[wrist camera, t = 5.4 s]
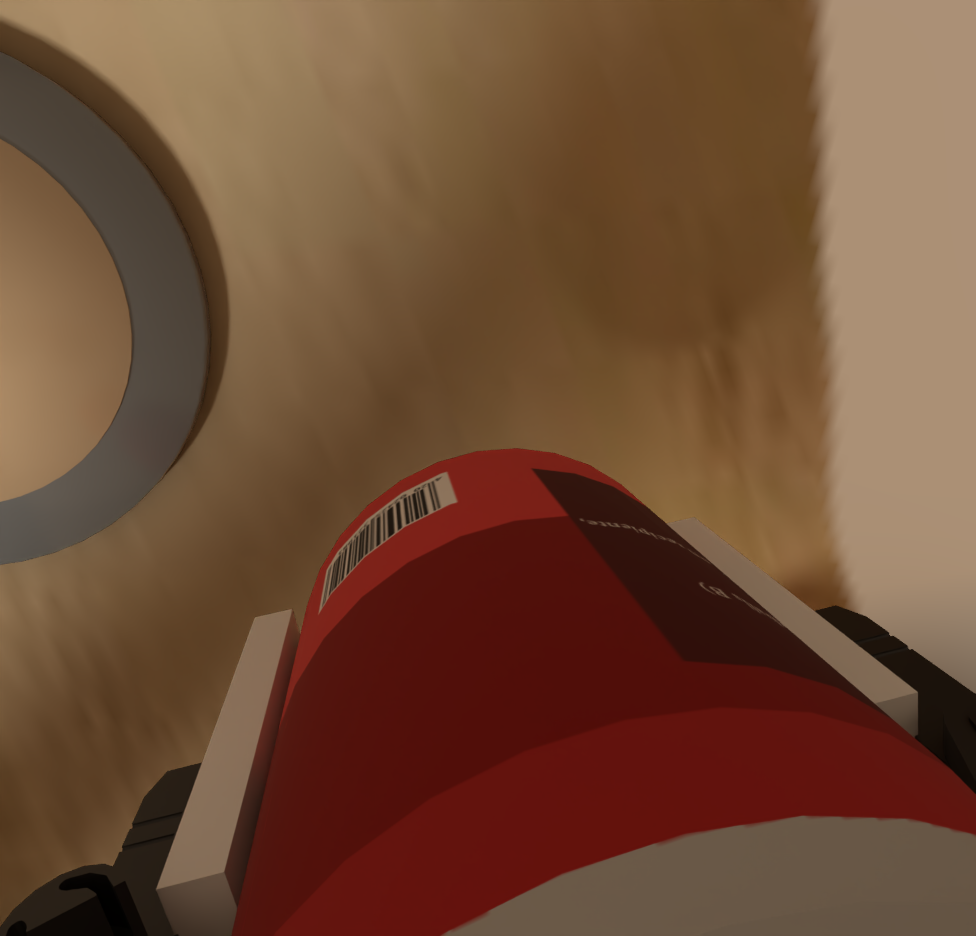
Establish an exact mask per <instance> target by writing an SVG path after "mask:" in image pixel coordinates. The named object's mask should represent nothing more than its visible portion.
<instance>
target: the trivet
mask: <svg viewBox="0 0 976 936" xmlns="http://www.w3.org/2000/svg"><path fill="white" fill-rule="evenodd" d="M210 347H211V331H210V320H209V308H208V301H207V296H206V292H205V287H204V283H203V278H202V274H201V270H200V267H199V264H198V261H197V259H196V256H195V253H194V250H193V247H192V245H191V242H190V239H189V236H188V234H187V232H186V230H185V228H184V226H183V224H182V222H181V220H180V218H179V216H178V214H177V212H176V210H175V208H174V206H173V204H172V202H171V201H170V199H169V198H168V196H167V195H166V193H165V192H164V190H163V189H162V187H161V186H160V184H159V183H158V181H157V180H156V178H155V177H154V175H153V174H152V172H151V171H150V169H149V168H148V167H147V166H146V165H145V163H144V162H143V161H142V160H141V159H140V157H139V156H138V155H137V154H136V153H135V151H134V150H133V149H132V148H131V147H130V145H129V144H128V143H127V142H126V141H125V140H124V139H123V138H122V137H121V136H120V135H119V134H118V133H117V132H116V131H115V130H114V129H113V128H112V127H111V126H110V125H109V124H108V123H107V122H106V121H105V120H104V119H102V118H101V117H100V116H99V115H98V114H97V113H96V112H95V111H94V110H92V109H91V108H90V107H89V106H87V105H86V104H85V103H83V102H82V101H81V100H79V99H78V98H77V97H75V96H74V95H73V94H72V93H70V92H69V91H68V90H66V89H65V88H64V87H62V86H61V85H59V84H57V83H56V82H54V81H52V80H51V79H49V78H47V77H46V76H44V75H42V74H41V73H39V72H37V71H36V70H34V69H32V68H31V67H29V66H27V65H26V64H24V63H22V62H20V61H18V60H16V59H14V58H13V57H11V56H9V55H6V54H4V53H2V52H0V565H1V564H8V563H15V562H21V561H26V560H29V559H33V558H37V557H40V556H44V555H48V554H51V553H55V552H57V551H60V550H62V549H64V548H67V547H69V546H72V545H74V544H76V543H79V542H81V541H84V540H85V539H87V538H89V537H91V536H92V535H94V534H96V533H97V532H99V531H101V530H103V529H104V528H106V527H108V526H110V525H111V524H112V523H114V522H115V521H116V520H117V519H119V518H120V517H121V516H123V515H124V514H125V513H126V512H128V511H129V510H130V509H132V508H133V507H134V506H135V505H136V504H137V503H138V502H139V501H140V500H142V499H143V498H144V497H145V496H146V494H147V493H148V492H149V491H150V490H151V489H152V488H153V487H154V486H155V485H156V484H157V483H158V482H159V481H160V480H161V479H162V478H163V477H164V475H165V474H166V473H167V471H168V470H169V468H170V467H171V466H172V464H173V463H174V461H175V460H176V459H177V457H178V456H179V455H180V453H181V451H182V449H183V447H184V445H185V443H186V441H187V440H188V438H189V436H190V434H191V432H192V430H193V428H194V425H195V423H196V420H197V417H198V414H199V411H200V408H201V405H202V402H203V399H204V395H205V389H206V384H207V379H208V373H209V368H210Z"/></svg>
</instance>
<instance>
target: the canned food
mask: <svg viewBox="0 0 976 936" xmlns="http://www.w3.org/2000/svg"><path fill="white" fill-rule="evenodd" d="M231 936H976V794H975V793H974V792H973V791H972V790H971V789H970V788H969V787H968V786H967V785H966V784H965V783H964V782H963V781H962V780H961V779H960V778H959V777H958V776H957V775H956V774H955V773H954V772H953V771H952V770H951V769H950V768H949V767H948V766H947V765H945V764H944V763H943V762H942V761H941V760H940V759H938V758H937V757H936V756H935V755H934V754H933V753H931V752H930V751H929V750H928V749H927V748H926V747H925V746H923V745H922V744H921V743H920V742H919V741H918V740H916V739H915V738H914V737H913V736H912V735H911V734H909V733H908V732H907V731H906V730H905V729H904V728H902V727H901V726H900V725H899V724H898V723H897V722H896V721H894V720H893V719H892V718H891V717H890V716H889V715H887V714H886V713H885V712H884V711H883V710H882V709H880V708H879V707H878V706H877V705H876V704H875V703H874V702H872V701H871V700H870V699H869V698H868V697H867V696H865V695H864V694H863V693H862V692H861V691H860V690H858V689H857V688H856V687H855V686H854V685H853V684H852V683H850V682H849V681H848V680H847V679H846V678H845V677H843V676H842V675H841V674H840V673H839V672H838V671H836V670H835V669H834V668H833V667H832V666H831V665H829V664H828V663H827V662H826V661H825V660H824V659H823V658H821V657H820V656H819V655H818V654H817V653H816V652H814V651H813V650H812V649H811V648H810V647H809V646H807V645H806V644H805V643H804V642H803V641H802V640H801V639H799V638H798V637H797V636H796V635H795V634H794V633H792V632H791V631H790V630H789V629H788V628H787V627H785V626H784V625H783V624H782V623H781V622H780V621H779V620H777V619H776V618H775V617H774V616H773V615H772V614H770V613H769V612H768V611H767V610H766V609H765V608H763V607H762V606H761V605H760V604H759V603H758V602H757V601H755V600H754V599H753V598H752V597H751V596H750V595H748V594H747V593H746V592H745V591H744V590H743V589H741V588H740V587H739V586H738V585H737V584H736V583H734V582H733V581H732V580H731V579H730V578H729V577H728V576H726V575H725V574H724V573H723V572H722V571H721V570H719V569H718V568H717V567H716V566H715V565H714V564H712V563H711V562H710V561H709V560H708V559H707V558H706V557H704V556H703V555H702V554H701V553H700V552H699V551H697V550H696V549H695V548H694V547H693V546H692V545H690V544H689V543H688V542H687V541H686V540H685V539H684V538H682V537H681V536H680V535H679V534H678V533H677V532H675V531H674V530H673V529H672V528H671V527H670V526H668V525H667V524H666V523H665V522H664V521H663V520H661V519H660V518H659V517H658V516H657V515H656V514H655V513H653V512H652V511H651V510H650V509H649V508H648V507H646V506H645V505H644V504H643V503H642V502H641V501H639V500H638V499H637V498H636V497H635V496H634V495H633V494H631V493H630V492H629V491H628V490H627V489H626V488H624V487H623V486H622V485H621V484H620V483H618V482H616V481H615V480H613V479H611V478H610V477H608V476H607V475H605V474H603V473H602V472H600V471H598V470H597V469H595V468H594V467H592V466H590V465H588V464H585V463H582V462H579V461H576V460H573V459H571V458H568V457H565V456H562V455H559V454H556V453H550V452H542V451H534V450H526V449H518V448H514V449H501V450H488V451H476V452H473V453H469V454H466V455H462V456H458V457H455V458H451V459H448V460H444V461H440V462H437V463H435V464H433V465H431V466H429V467H427V468H425V469H423V470H421V471H419V472H417V473H415V474H413V475H411V476H409V477H407V478H405V479H403V480H401V481H399V482H398V483H397V484H395V485H394V486H393V487H392V488H390V489H389V490H388V491H386V492H385V493H384V494H382V495H381V496H380V497H378V498H377V499H376V500H374V501H373V502H372V503H370V504H369V505H368V506H367V507H366V508H365V509H364V510H363V511H362V512H361V513H360V515H359V516H358V517H357V518H356V519H355V520H354V521H353V522H352V523H351V525H350V526H349V527H348V528H347V529H346V530H345V531H344V532H343V533H342V534H341V536H340V537H339V539H338V540H337V542H336V544H335V545H334V547H333V549H332V550H331V552H330V554H329V555H328V557H327V559H326V560H325V562H324V564H323V565H322V567H321V569H320V571H319V574H318V576H317V579H316V582H315V585H314V588H313V590H312V593H311V596H310V599H309V602H308V605H307V608H306V613H305V617H304V621H303V626H302V630H301V634H300V639H299V643H298V647H297V652H296V656H295V660H294V665H293V669H292V673H291V678H290V682H289V687H288V691H287V695H286V700H285V704H284V708H283V713H282V717H281V721H280V726H279V730H278V734H277V739H276V743H275V747H274V752H273V756H272V761H271V765H270V769H269V774H268V778H267V782H266V787H265V791H264V795H263V800H262V804H261V808H260V813H259V817H258V821H257V826H256V830H255V834H254V839H253V843H252V848H251V852H250V856H249V861H248V865H247V869H246V874H245V878H244V882H243V887H242V891H241V895H240V900H239V904H238V908H237V913H236V917H235V921H234V926H233V930H232V935H231Z"/></svg>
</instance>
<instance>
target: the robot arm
mask: <svg viewBox="0 0 976 936" xmlns="http://www.w3.org/2000/svg"><path fill="white" fill-rule="evenodd" d="M667 525H668V526H670V527H671V528H672V529H673V530H674V531H675V532H677V533H678V534H679V535H680V536H681V537H682V538H684V539H685V540H686V541H687V542H688V543H689V544H690V545H692V546H693V547H694V548H695V549H696V550H697V551H699V552H700V553H701V554H702V555H703V556H704V557H706V558H707V559H708V560H709V561H710V562H711V563H712V564H714V565H715V566H716V567H717V568H718V569H719V570H721V571H722V572H723V573H724V574H725V575H726V576H728V577H729V578H730V579H731V580H732V581H733V582H734V583H736V584H737V585H738V586H739V587H740V588H741V589H743V590H744V591H745V592H746V593H747V594H748V595H750V596H751V597H752V598H753V599H754V600H755V601H757V602H758V603H759V604H760V605H761V606H762V607H763V608H765V609H766V610H767V611H768V612H769V613H770V614H772V615H773V616H774V617H775V618H776V619H777V620H779V621H780V622H781V623H782V624H783V625H784V626H785V627H787V628H788V629H789V630H790V631H791V632H792V633H794V634H795V635H796V636H797V637H798V638H799V639H801V640H802V641H803V642H804V643H805V644H806V645H807V646H809V647H810V648H811V649H812V650H813V651H814V652H816V653H817V654H818V655H819V656H820V657H821V658H823V659H824V660H825V661H826V662H827V663H828V664H829V665H831V666H832V667H833V668H834V669H835V670H836V671H838V672H839V673H840V674H841V675H842V676H843V677H845V678H846V679H847V680H848V681H849V682H850V683H852V684H853V685H854V686H855V687H856V688H857V689H858V690H860V691H861V692H862V693H863V694H864V695H865V696H867V697H868V698H869V699H870V700H871V701H872V702H874V703H875V704H876V705H877V706H878V707H879V708H880V709H882V710H883V711H884V712H885V713H886V714H887V715H889V716H890V717H891V718H892V719H893V720H894V721H896V722H897V723H898V724H899V725H900V726H901V727H902V728H904V729H905V730H906V731H907V732H908V733H909V734H911V735H912V736H913V737H914V738H915V739H916V740H918V741H919V742H920V743H921V744H922V745H923V746H925V747H926V748H927V749H928V750H929V751H930V752H931V753H933V754H934V755H935V756H936V757H937V758H938V759H940V760H941V761H942V762H943V763H944V764H945V765H947V766H948V767H949V768H950V769H951V770H952V771H953V772H954V773H955V774H956V775H957V776H958V777H959V778H960V779H961V780H962V781H963V782H964V783H965V784H966V785H967V786H968V787H969V788H970V789H971V790H972V791H973V792H974V793H975V794H976V694H975V693H973V692H972V691H970V690H969V689H967V688H966V687H965V686H963V685H962V684H960V683H959V682H958V681H956V680H955V679H954V678H952V677H951V676H949V675H948V674H947V673H945V672H944V671H942V670H941V669H939V668H938V667H937V666H935V665H934V664H932V663H931V662H930V661H928V660H927V659H925V658H924V657H923V656H921V655H920V654H918V653H917V652H916V651H914V650H913V649H911V650H909V649H908V646H907V645H906V644H904V643H903V642H901V641H900V640H899V639H897V638H896V637H894V636H890V635H889V632H887V631H886V630H885V629H883V628H882V627H880V626H879V625H878V624H876V623H875V622H873V621H872V620H870V619H869V618H868V617H866V616H863V615H861V614H858V613H855V612H852V611H850V610H847V609H844V608H841V607H839V606H832V607H828V608H824V609H820V610H816V611H813V610H812V609H811V608H810V607H808V606H807V605H806V604H804V603H803V602H802V601H801V600H799V599H798V598H797V597H796V596H794V595H793V594H792V593H790V592H789V591H788V590H787V589H785V588H784V587H783V586H781V585H780V584H779V583H778V582H776V581H775V580H774V579H773V578H771V577H770V576H769V575H767V574H766V573H765V572H764V571H762V570H761V569H760V568H758V567H757V566H756V565H755V564H753V563H752V562H751V561H750V560H748V559H747V558H746V557H744V556H743V555H742V554H741V553H739V552H738V551H737V550H735V549H734V548H733V547H732V546H730V545H729V544H728V543H727V542H725V541H724V540H723V539H721V538H720V537H719V536H718V535H716V534H715V533H714V532H712V531H711V530H710V529H709V528H707V527H706V526H705V525H704V524H702V523H701V522H700V521H698V520H697V519H696V518H695V517H693V518H689V519H684V520H680V521H675V522H671V523H667ZM299 639H300V633H299V630H298V626H297V623H296V619H295V616H294V612H293V609H289V610H285V611H280V612H276V613H272V614H267V615H263V616H258V617H255V618H254V621H253V624H252V626H251V629H250V632H249V635H248V637H247V640H246V643H245V646H244V648H243V651H242V654H241V657H240V659H239V662H238V665H237V668H236V670H235V673H234V676H233V679H232V681H231V684H230V687H229V690H228V692H227V695H226V698H225V701H224V704H223V706H222V709H221V712H220V715H219V717H218V720H217V723H216V726H215V728H214V731H213V734H212V737H211V739H210V742H209V745H208V748H207V750H206V753H205V756H204V759H203V761H202V763H199V764H195V765H191V766H187V767H182V768H178V769H174V770H170V771H167V772H166V773H165V775H164V776H163V777H162V778H161V779H160V780H159V781H158V782H157V784H156V785H155V786H154V787H153V788H152V789H151V790H150V791H149V792H148V794H147V795H146V796H145V797H144V799H143V801H142V803H141V805H140V808H139V810H138V812H137V814H136V817H135V819H134V821H133V823H132V826H133V828H132V829H130V830H129V832H128V834H127V837H126V839H125V841H124V843H123V846H122V848H123V850H122V852H119V854H118V857H117V859H116V861H115V863H114V866H113V867H112V866H109V865H106V864H98V865H89V866H83V867H80V868H78V869H75V870H72V871H70V872H67V873H65V874H62V875H60V876H58V877H56V878H55V879H53V880H51V881H50V882H48V883H47V884H45V885H43V886H42V887H40V888H38V889H37V890H35V891H34V892H33V893H32V894H31V895H30V896H28V897H27V898H26V899H25V900H24V901H23V902H22V903H20V904H19V905H18V906H17V907H16V908H15V909H14V910H13V911H12V912H11V913H10V915H9V916H8V917H7V919H6V920H5V921H4V923H3V924H2V925H1V927H0V936H231V935H232V930H233V926H234V921H235V917H236V913H237V908H238V904H239V900H240V895H241V891H242V887H243V882H244V878H245V874H246V869H247V865H248V861H249V856H250V852H251V848H252V843H253V839H254V834H255V830H256V826H257V821H258V817H259V813H260V808H261V804H262V800H263V795H264V791H265V787H266V782H267V778H268V774H269V769H270V765H271V761H272V756H273V752H274V747H275V743H276V739H277V734H278V730H279V726H280V721H281V717H282V713H283V708H284V704H285V700H286V695H287V691H288V687H289V682H290V678H291V673H292V669H293V665H294V660H295V656H296V652H297V647H298V643H299Z"/></svg>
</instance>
